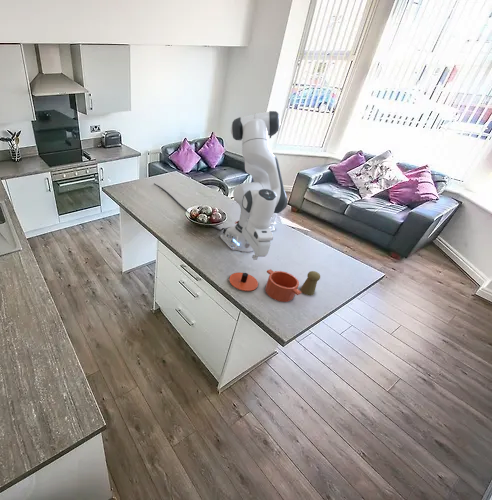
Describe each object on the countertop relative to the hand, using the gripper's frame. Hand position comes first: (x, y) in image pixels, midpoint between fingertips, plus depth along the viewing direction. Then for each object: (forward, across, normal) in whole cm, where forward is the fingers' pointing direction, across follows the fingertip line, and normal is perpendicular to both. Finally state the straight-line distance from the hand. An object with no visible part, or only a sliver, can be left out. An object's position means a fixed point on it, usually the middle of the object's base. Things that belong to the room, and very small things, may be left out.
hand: (250, 252), depth 133 cm
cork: (+18, +9, +29) cm, 35 cm away
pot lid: (+17, +1, 0) cm, 17 cm away
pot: (+18, +9, +15) cm, 25 cm away
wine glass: (+19, -50, +38) cm, 66 cm away
